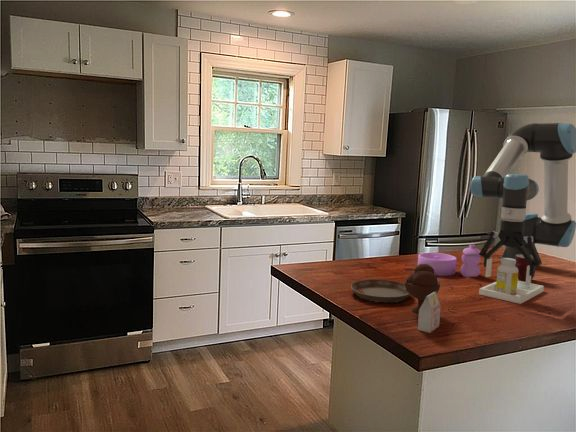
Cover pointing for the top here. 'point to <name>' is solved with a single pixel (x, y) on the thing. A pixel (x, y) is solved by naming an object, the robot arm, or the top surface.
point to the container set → (453, 262)
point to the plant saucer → (380, 290)
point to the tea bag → (429, 314)
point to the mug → (522, 267)
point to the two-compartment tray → (519, 298)
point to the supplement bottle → (507, 277)
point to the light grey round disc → (523, 286)
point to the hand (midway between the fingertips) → (507, 280)
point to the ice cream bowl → (421, 284)
